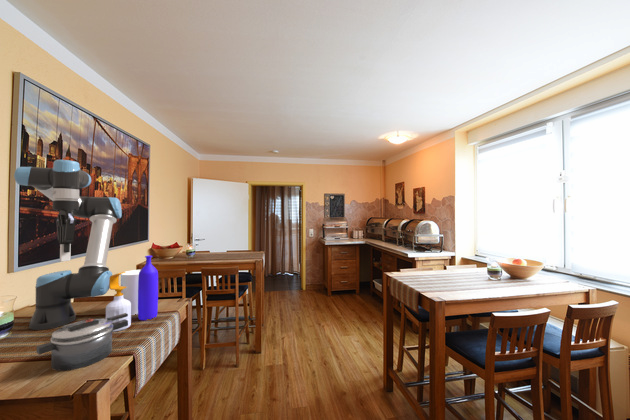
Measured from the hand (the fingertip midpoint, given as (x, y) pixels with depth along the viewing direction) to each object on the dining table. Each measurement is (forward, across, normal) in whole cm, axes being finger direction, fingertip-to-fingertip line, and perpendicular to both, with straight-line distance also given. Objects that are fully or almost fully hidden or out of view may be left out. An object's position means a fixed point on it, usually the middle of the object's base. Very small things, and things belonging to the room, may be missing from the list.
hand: (65, 260), depth 103 cm
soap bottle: (+33, +1, +18) cm, 37 cm away
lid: (+23, +18, +3) cm, 29 cm away
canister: (+33, -15, +33) cm, 49 cm away
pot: (+32, +18, +1) cm, 37 cm away
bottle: (+33, 0, +31) cm, 45 cm away
